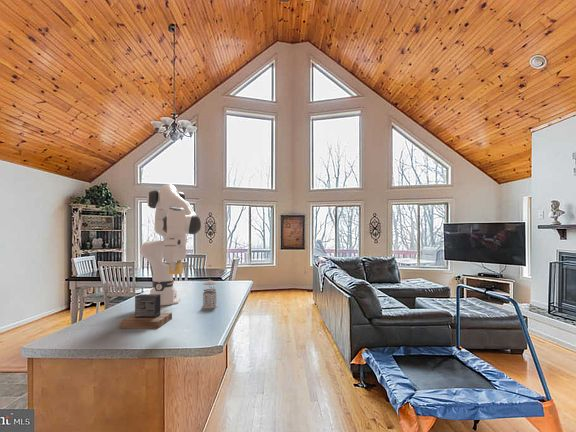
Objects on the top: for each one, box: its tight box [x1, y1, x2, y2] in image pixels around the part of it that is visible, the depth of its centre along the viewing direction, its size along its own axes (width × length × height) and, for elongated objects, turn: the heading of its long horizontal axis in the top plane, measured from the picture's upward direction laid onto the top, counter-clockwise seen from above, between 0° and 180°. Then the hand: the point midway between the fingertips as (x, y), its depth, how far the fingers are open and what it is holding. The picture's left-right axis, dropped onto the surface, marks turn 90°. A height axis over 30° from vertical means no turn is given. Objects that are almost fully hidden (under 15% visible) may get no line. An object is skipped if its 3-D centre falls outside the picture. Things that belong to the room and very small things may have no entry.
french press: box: [201, 263, 219, 309], centre depth 209 cm, size 10×12×25 cm
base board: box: [119, 312, 173, 329], centre depth 172 cm, size 18×18×3 cm
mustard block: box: [168, 262, 184, 275], centre depth 166 cm, size 5×5×5 cm
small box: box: [134, 293, 161, 318], centre depth 173 cm, size 11×6×10 cm, turn 87°
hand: (176, 270), depth 166 cm, fingers closed on mustard block, 5 cm apart
